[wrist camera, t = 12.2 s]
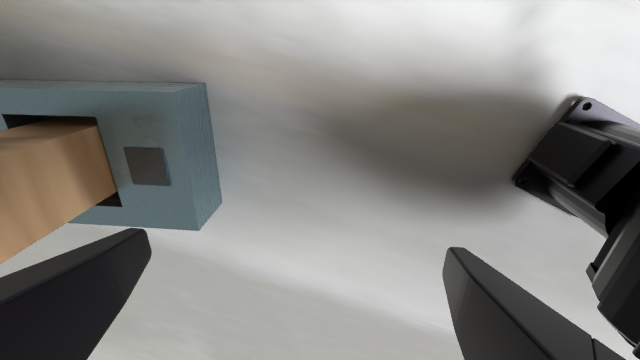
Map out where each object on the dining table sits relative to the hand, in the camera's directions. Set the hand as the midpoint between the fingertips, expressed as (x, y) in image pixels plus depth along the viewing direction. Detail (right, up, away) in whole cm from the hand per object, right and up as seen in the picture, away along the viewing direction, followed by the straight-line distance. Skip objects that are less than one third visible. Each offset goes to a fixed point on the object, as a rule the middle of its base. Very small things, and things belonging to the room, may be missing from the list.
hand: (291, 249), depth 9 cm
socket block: (-15, +5, +14) cm, 21 cm away
